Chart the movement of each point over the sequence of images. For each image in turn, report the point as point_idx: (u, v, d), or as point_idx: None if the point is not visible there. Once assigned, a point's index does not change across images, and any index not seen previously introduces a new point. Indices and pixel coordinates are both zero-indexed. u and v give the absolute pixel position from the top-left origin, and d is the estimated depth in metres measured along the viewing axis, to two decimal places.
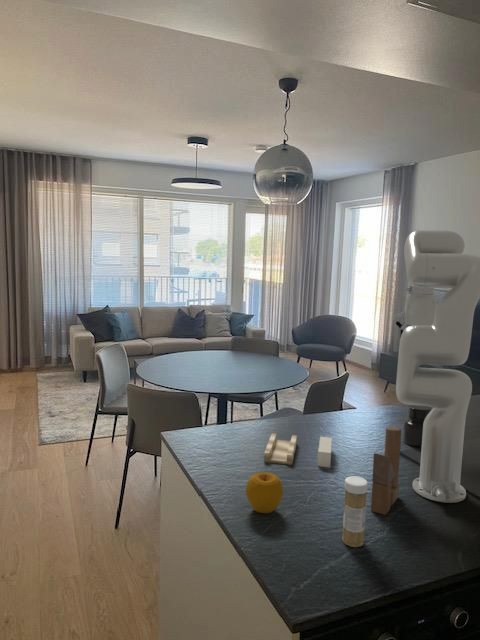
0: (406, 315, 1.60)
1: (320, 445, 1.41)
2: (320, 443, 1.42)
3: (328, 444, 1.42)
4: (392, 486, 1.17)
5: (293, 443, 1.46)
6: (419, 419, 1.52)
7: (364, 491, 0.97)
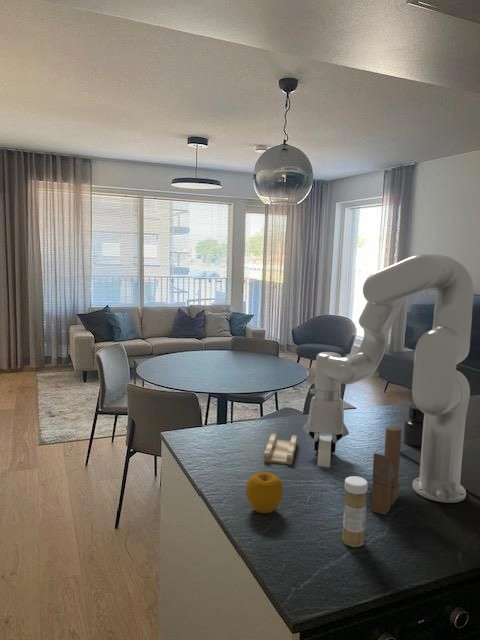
0: (309, 421, 1.43)
1: (319, 444, 1.41)
2: (320, 442, 1.43)
3: (327, 443, 1.42)
4: (392, 486, 1.17)
5: (293, 443, 1.46)
6: (419, 419, 1.52)
7: (364, 491, 0.97)
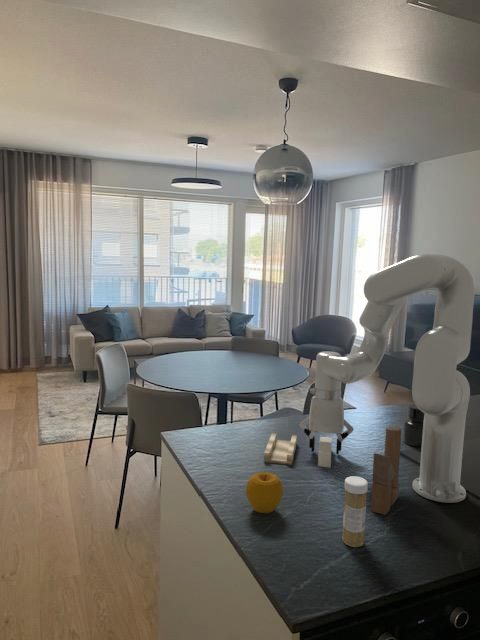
0: (310, 421, 1.43)
1: (320, 445, 1.41)
2: (320, 443, 1.42)
3: (328, 444, 1.42)
4: (392, 486, 1.17)
5: (293, 443, 1.46)
6: (419, 419, 1.52)
7: (364, 491, 0.97)
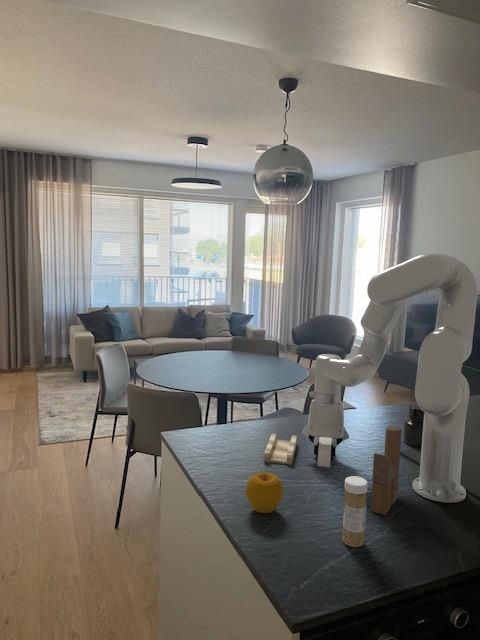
0: (309, 425, 1.40)
1: (320, 444, 1.41)
2: (320, 442, 1.43)
3: (327, 443, 1.42)
4: (392, 486, 1.17)
5: (293, 443, 1.46)
6: (419, 419, 1.52)
7: (364, 491, 0.97)
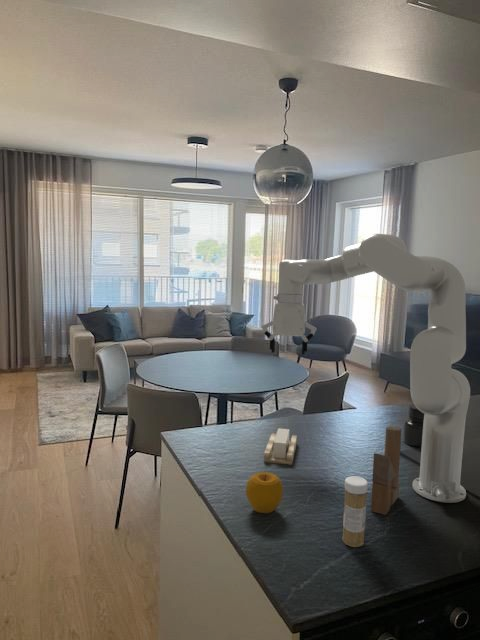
0: (273, 325, 1.51)
1: (276, 436, 1.44)
2: (277, 434, 1.46)
3: (284, 435, 1.45)
4: (392, 486, 1.17)
5: (293, 443, 1.46)
6: (419, 419, 1.52)
7: (364, 491, 0.97)
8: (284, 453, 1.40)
